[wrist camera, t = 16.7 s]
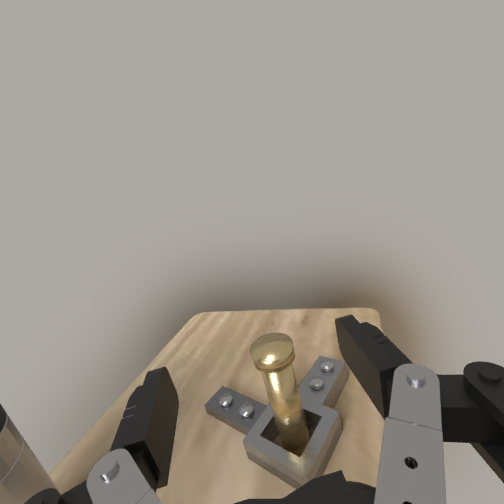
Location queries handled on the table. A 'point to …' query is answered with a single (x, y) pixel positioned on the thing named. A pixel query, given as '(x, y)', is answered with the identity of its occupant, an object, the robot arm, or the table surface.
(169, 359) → the table surface
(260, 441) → the bolted corner bracket
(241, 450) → the table surface
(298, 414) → the brass pin
